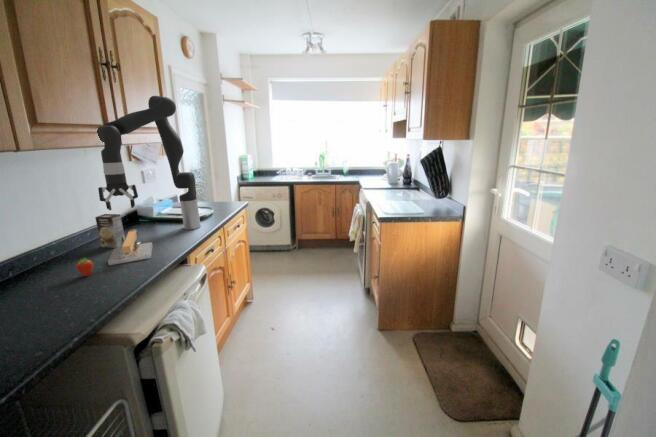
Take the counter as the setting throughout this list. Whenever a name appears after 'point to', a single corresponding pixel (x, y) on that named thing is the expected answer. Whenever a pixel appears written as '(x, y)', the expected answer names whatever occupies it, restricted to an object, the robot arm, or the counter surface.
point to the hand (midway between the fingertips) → (121, 208)
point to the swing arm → (129, 241)
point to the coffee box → (110, 230)
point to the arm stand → (137, 242)
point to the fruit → (85, 267)
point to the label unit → (131, 254)
